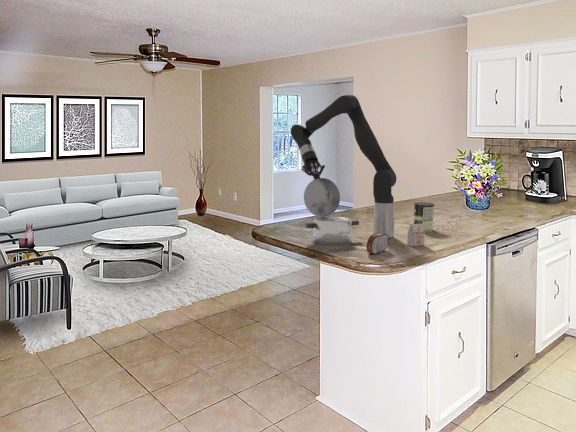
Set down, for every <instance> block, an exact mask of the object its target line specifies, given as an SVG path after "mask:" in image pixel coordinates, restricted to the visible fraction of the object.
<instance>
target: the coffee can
mask: <svg viewBox="0 0 576 432" xmlns="http://www.w3.org/2000/svg"><path fill="white" fill-rule="evenodd" d="M413 204H414V206H413V209H414V210H413V221H412V222H413V224H423V227H424V231H428V232H432V231H433V227H434V225H433V224H434V214H435V213H434V212H435V211H434V209H435V203H433V202H426V201H425V202H424V201H423V202H422V201H421V202H420V201H419V202H414V203H413Z"/></svg>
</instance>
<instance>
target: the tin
mask: <svg viewBox="0 0 576 432" xmlns="http://www.w3.org/2000/svg"><path fill="white" fill-rule="evenodd" d="M388 245H389V238H388V235H387V234H386V233H382V232H380V233H376V234H373V233H372V234H371V235H370V236H369V237H368V239H367V242H366V252H367V253H368V254H372V255H377V254H380V253H382V251H383V252H385V251H384V250H387V247H388ZM379 252H380V253H379Z"/></svg>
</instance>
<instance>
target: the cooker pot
mask: <svg viewBox="0 0 576 432" xmlns="http://www.w3.org/2000/svg"><path fill="white" fill-rule="evenodd" d="M359 225H360V221H359V220H357V219H350V218H348V217H341V216H325V217H319V216H317V217H315V218H314V219H313V222H305V223H304V228H306V229H312V231H313V232H312V233H313V234H312V235H313V238H312V241H313V242H315V243H317V244H321V245H329V246H331V245H332V246H337V245H338V246H339V245H346V244H350V243H351V242H352V226H359Z"/></svg>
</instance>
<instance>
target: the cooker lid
mask: <svg viewBox="0 0 576 432" xmlns="http://www.w3.org/2000/svg"><path fill="white" fill-rule="evenodd" d="M303 192H304V193H303V201H304V205H305V207H306V209H307V210H308V212H310V213H311V214H312V215H313V216H316V217H330V216H331V215H332V214H334V213H335V212H336V211H337V209H338V207H339V206H340V201H341V194H340V190H339V188H338V186H337V185H336V184H335V182H334V181H332V180H331V179H329V178H326V177H320V178H318V179H315V180H314V179H313V180H311V181H310V182H309V183H308V184H307V185H306V187H305V189H304V191H303Z"/></svg>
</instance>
